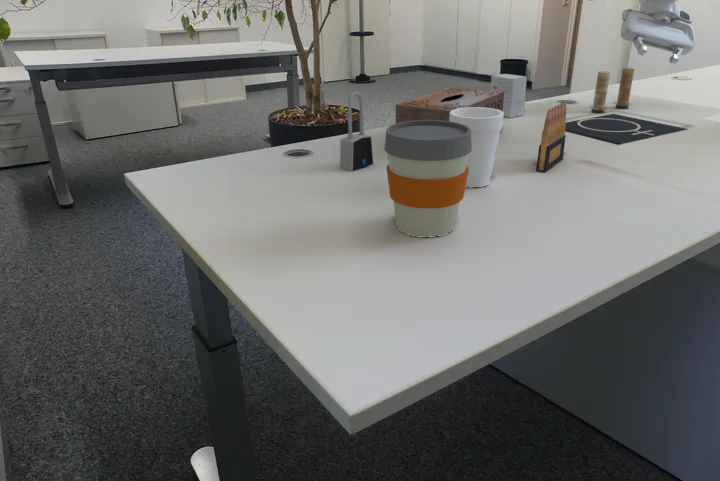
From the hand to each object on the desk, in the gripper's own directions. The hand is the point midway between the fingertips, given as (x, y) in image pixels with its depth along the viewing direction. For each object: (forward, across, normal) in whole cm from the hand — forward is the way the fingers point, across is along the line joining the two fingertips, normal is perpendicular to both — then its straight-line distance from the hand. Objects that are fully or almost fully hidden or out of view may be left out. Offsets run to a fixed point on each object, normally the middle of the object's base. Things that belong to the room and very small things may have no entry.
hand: (658, 57), depth 147 cm
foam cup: (+60, -55, -20) cm, 84 cm away
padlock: (+55, -76, -7) cm, 94 cm away
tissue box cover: (+39, -54, +1) cm, 67 cm away
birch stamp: (+12, -10, +12) cm, 20 cm away
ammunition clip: (+50, -38, -16) cm, 65 cm away
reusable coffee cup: (+76, -66, -32) cm, 105 cm away
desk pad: (+26, -13, -1) cm, 29 cm away
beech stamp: (+7, -1, +14) cm, 16 cm away
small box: (+17, -35, +17) cm, 42 cm away
